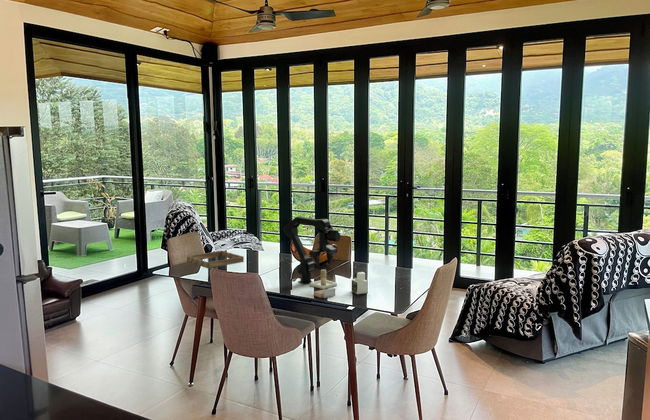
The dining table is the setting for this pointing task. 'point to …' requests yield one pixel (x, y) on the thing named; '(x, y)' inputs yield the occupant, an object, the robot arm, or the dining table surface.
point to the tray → (318, 285)
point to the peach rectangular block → (319, 293)
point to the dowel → (323, 277)
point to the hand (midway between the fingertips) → (323, 265)
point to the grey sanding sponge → (328, 292)
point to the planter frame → (198, 261)
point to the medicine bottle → (359, 283)
